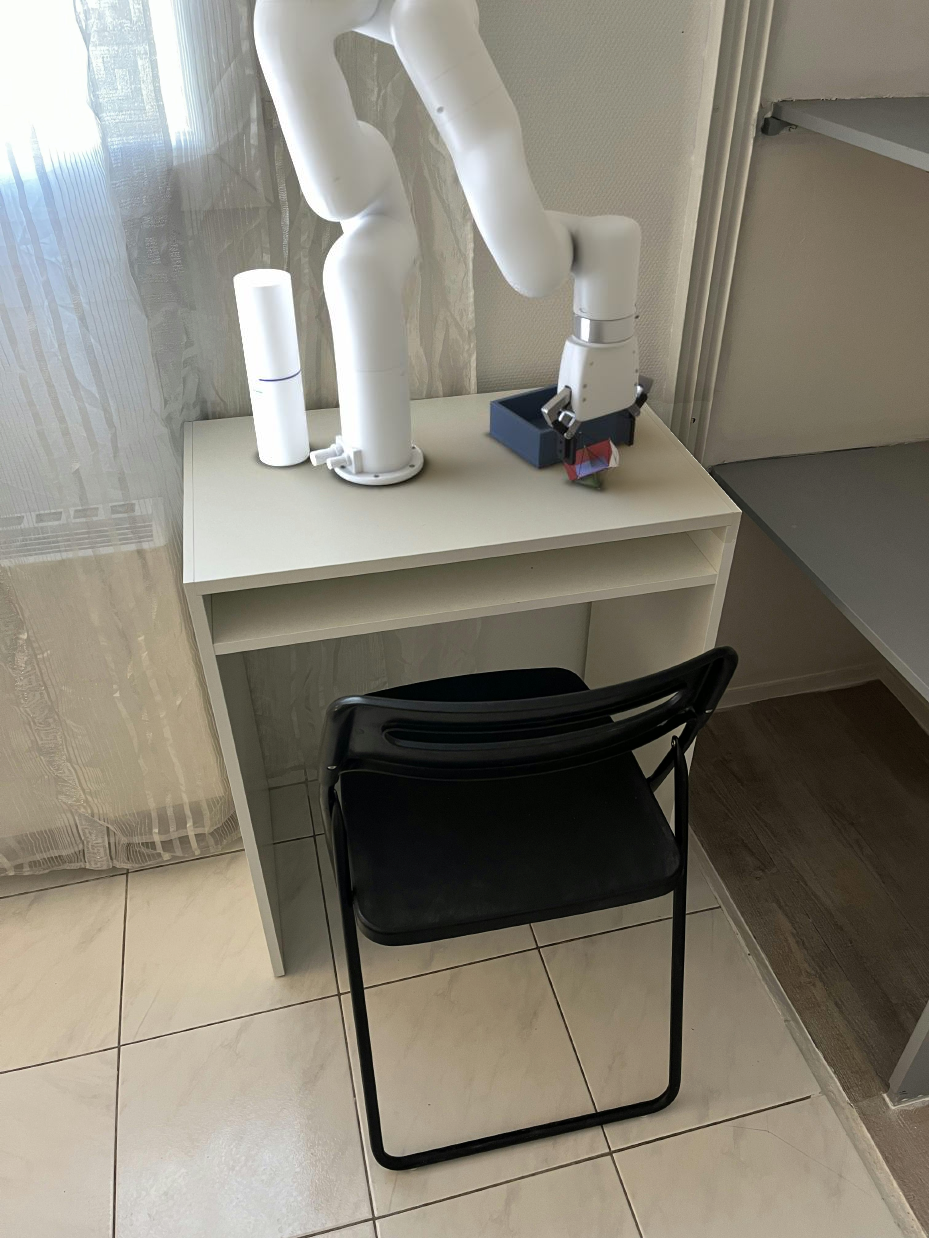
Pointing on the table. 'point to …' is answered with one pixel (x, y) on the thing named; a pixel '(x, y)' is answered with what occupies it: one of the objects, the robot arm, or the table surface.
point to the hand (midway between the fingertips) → (595, 451)
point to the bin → (541, 426)
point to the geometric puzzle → (593, 460)
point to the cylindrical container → (273, 365)
